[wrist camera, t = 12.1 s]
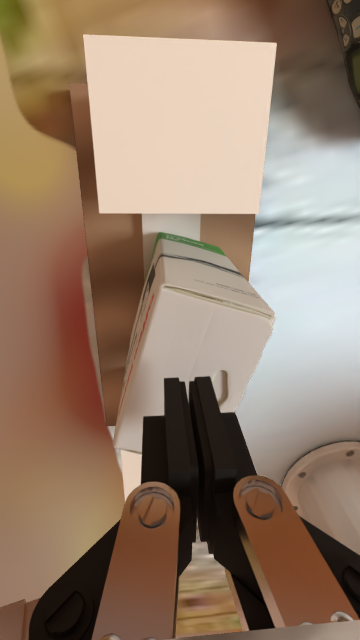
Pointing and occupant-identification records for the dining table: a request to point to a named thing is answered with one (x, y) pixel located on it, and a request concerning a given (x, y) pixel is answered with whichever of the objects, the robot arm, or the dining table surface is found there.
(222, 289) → the ink box
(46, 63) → the dining table surface
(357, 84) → the mobile phone
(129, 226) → the rail board
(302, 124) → the dining table surface
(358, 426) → the dining table surface
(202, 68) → the mounted modules
